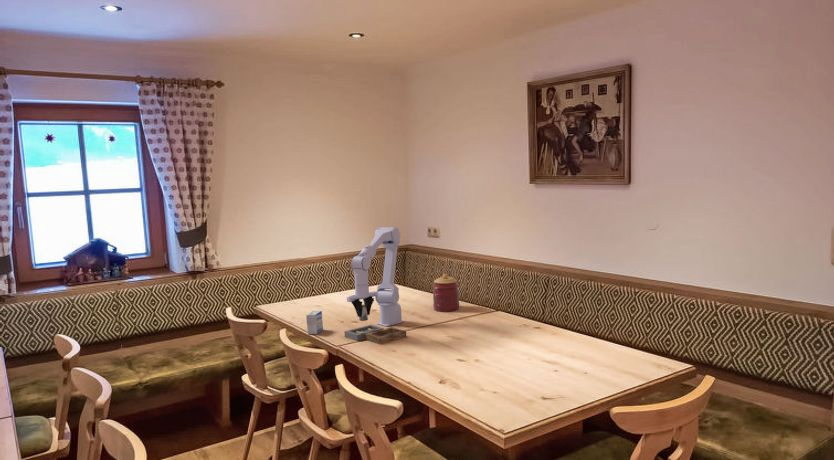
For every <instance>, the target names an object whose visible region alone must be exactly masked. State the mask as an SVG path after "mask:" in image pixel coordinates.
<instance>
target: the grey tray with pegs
mask: <svg viewBox="0 0 834 460" xmlns="http://www.w3.org/2000/svg"><path fill="white" fill-rule="evenodd" d="M382 329H385V328H384V327H381V326H379V325H378V326H377V325H374V324H367V325H363V326H360V327H356V328H352V329H348V330H347V329H346V330H345V331H344V337H345V338H348V339H351V340H354V341H357V342H358V341H362V340H365V334H367V333H370V332H374V331H378V330H382Z"/></svg>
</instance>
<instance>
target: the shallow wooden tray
mask: <svg viewBox="0 0 834 460" xmlns="http://www.w3.org/2000/svg"><path fill="white" fill-rule="evenodd" d="M402 338H407V330H404V329H401V328H397V327H393V326H391V327H387V328H386V327H385V328H384V329H382V330H378V331H374V332H370V333H367V334H365V339H364V340H366V341H369V342H371V343H375V344H377V345H381V344H384V343H389V342H391V341H392V342H393V341H396V340H398V339H399V340H400V339H402Z"/></svg>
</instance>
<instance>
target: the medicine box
mask: <svg viewBox="0 0 834 460" xmlns="http://www.w3.org/2000/svg"><path fill="white" fill-rule="evenodd" d="M305 317H306V319H305V320H306V330H307V334H308V335H318V334H319V333H320V332H321V331H323V330H324V324H323V322H324V321H323V311H322V310H313V311H311V312H310V313H307V314H306V315H305Z"/></svg>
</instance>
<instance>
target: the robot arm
mask: <svg viewBox="0 0 834 460" xmlns="http://www.w3.org/2000/svg"><path fill="white" fill-rule="evenodd" d="M400 239H401V232H400V230H399V227H397V226H394V227H393V226H392V227H391V226H389V227H386V226H384V227H383V226H378V227H377V228H376V230H374V237H373V238H372V240H371V242H370V244H367V245H366V244H365V245H364V247H363V248H362V250H361V251H360V252H359V253H358V255H355V256H353V257H352V258H351V261H350V262H351V263H350V267H351V270H352V273H353V274H354V290H355V294H353V295H349V296H346V302H347V303H351V304H352V305H353V307H354V310H355V312H356V317H358V318H359V317H361V316H362V311H361V309H362V305H367V313H368V316H370V314H371V309H372V306H373V303H374V302H375V301H376V303H377V305H378V306H379V316H380V317H379V318H380V320H379V321H377V322H376V324H377V325H381V326H384V327H389V326H394V325H398V324H401V323H403V322H404V321H403V319H402V318H403V317H402V307H401V304H400V303H398V302H399V299H400V293H399V287H398V286H397V285H396V284H395V274H396V273H395V272H396V266H397V265H396V263H397V255H398V247H399V246H400V241H401V240H400ZM380 246H383V247H384V248H385V254H384V264H383V275H382V282H381V283H380V284H378V285H377V286H376V291H370V289H369V269H370V267H371V263H372V260H373V259H374V257H375V256H376V254H377V249H378V248H380ZM361 300H362V301H361Z"/></svg>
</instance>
